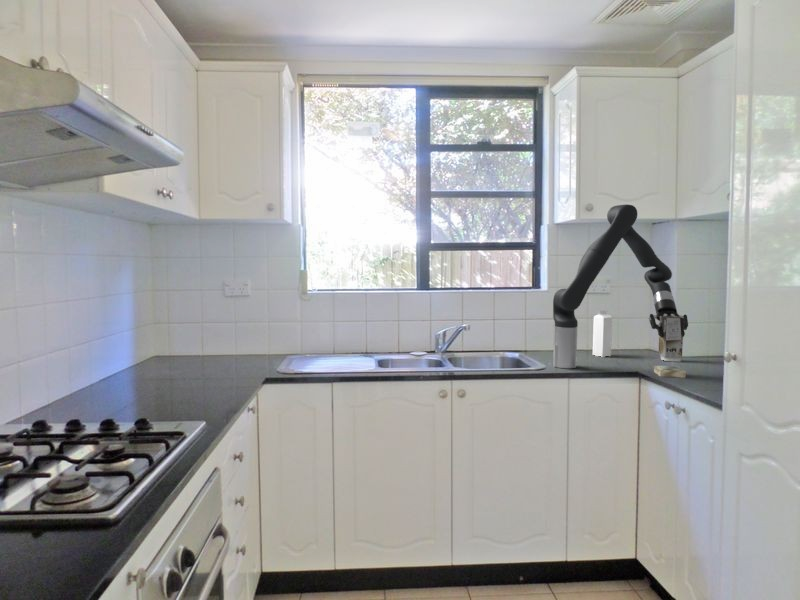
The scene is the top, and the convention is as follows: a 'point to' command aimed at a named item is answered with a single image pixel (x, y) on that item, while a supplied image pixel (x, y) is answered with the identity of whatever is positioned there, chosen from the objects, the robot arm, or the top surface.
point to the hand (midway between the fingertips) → (672, 336)
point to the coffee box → (671, 337)
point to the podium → (669, 371)
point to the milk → (602, 334)
